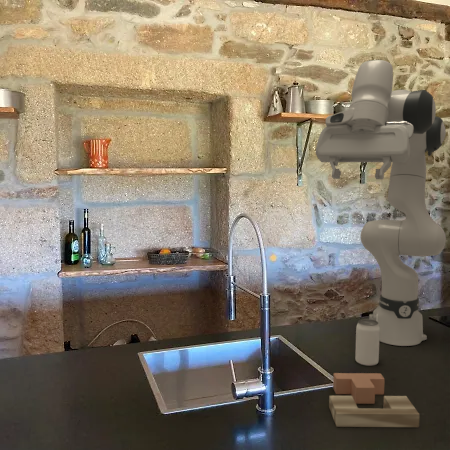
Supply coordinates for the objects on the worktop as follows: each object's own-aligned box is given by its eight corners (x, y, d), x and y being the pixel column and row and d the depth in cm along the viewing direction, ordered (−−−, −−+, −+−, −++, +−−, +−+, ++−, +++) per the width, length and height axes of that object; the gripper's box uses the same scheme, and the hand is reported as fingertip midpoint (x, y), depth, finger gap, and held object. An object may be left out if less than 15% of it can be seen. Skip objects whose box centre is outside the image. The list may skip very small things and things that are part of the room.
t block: (333, 388, 128) (333, 373, 128) (380, 388, 128) (380, 373, 127) (340, 403, 120) (340, 387, 119) (390, 403, 119) (390, 387, 119)
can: (379, 367, 141) (381, 326, 139) (355, 365, 142) (357, 324, 140) (377, 358, 147) (378, 319, 145) (354, 356, 148) (355, 317, 147)
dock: (329, 407, 118) (329, 395, 117) (405, 408, 117) (406, 396, 117) (336, 426, 109) (336, 413, 109) (418, 427, 109) (419, 414, 108)
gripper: (416, 128, 109) (409, 185, 105) (326, 131, 119) (316, 183, 115) (413, 112, 104) (404, 171, 100) (319, 117, 114) (308, 170, 110)
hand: (356, 178), depth 108 cm, fingers open, 8 cm apart
